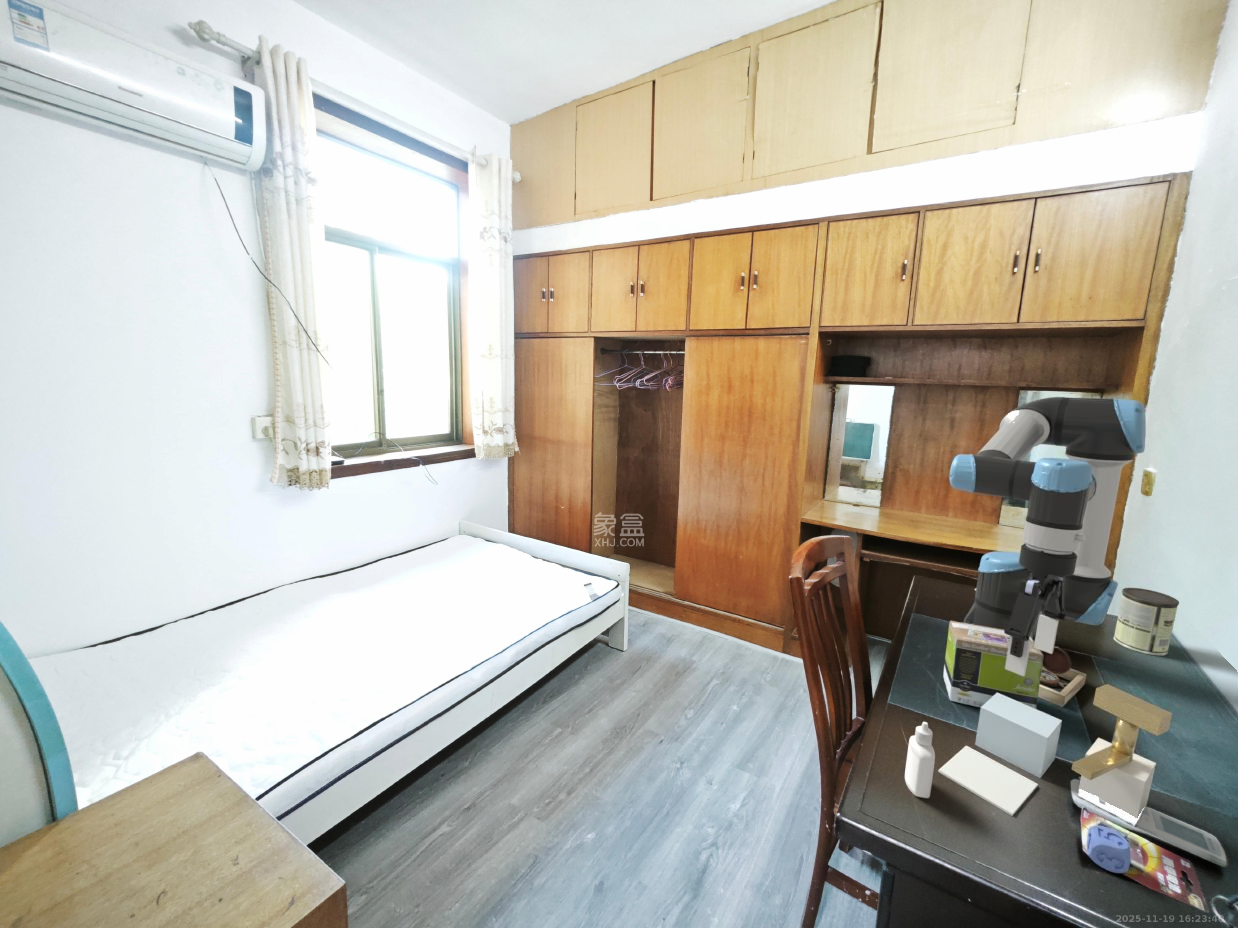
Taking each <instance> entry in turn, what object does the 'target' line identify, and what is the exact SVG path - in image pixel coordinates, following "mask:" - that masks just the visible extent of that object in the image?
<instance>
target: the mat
mask: <svg viewBox="0 0 1238 928" xmlns="http://www.w3.org/2000/svg"><path fill="white" fill-rule="evenodd" d="M937 772H938V773H940V775H943V776H944V777H946V778H947V779H949V780H951V781H953V782H954V783H956V784H957V785H959V786H961V787H963V788H965V789H966V790H967V791H969V792H971V793H973V794H974V795H976V796H978V797H979V798H981V799H982V800H984V801H986V802H988V803H989V804H991V805H993V806H994V807H996V808H998V809H999V810H1001V811H1002V812H1005V813H1006V814H1008V815H1010V816H1011V817H1013V816H1014V815H1015V814H1016V812H1017V811H1018V810H1019V809H1020V808H1021V806H1022V805H1024V803H1025V802H1026V800H1027V799H1028V798H1029V797H1030V796H1031V795H1032V794H1033V792H1034V791H1035V790H1036V788H1037V787H1038V786H1039V784H1038V783H1036V782H1035V781H1033V780H1032V779H1029V778H1027V777H1025V776H1023V775H1022V774H1020V773H1018V772H1017V771H1015V770H1013V769H1010V768H1009V767H1007V766H1005V765H1003V764H1002V763H999V762H997V761H996V760H994V759H992V758H990V757H988V756H987V755H985V754H982V753H981V752H979V751H977V750H975V749H973V748H972V747H970V746H968V745H964V747H963V748H962V749H960V751H958V752H957V753H956V754H954V756H952V758H951V759H949V760H948V761H947V762H946V763H945V764H943V766H941V767H940V768H939V769H938V770H937Z"/></svg>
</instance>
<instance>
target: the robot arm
mask: <svg viewBox="0 0 1238 928" xmlns="http://www.w3.org/2000/svg"><path fill="white" fill-rule="evenodd" d="M1146 420H1147V419H1146V408H1145V405H1144V404H1143V403H1142V402H1141V401H1138V400H1135V399H1134V400H1133V399H1123V398H1108V397H1107V398H1106V397H1103V398H1101V397H1065V396H1052V397H1046V398H1045V397H1044V398H1040V399H1036V400H1032V401H1029V402H1027V403H1024V404H1022V405H1020V406H1018V407H1016V408H1014V409H1012V410H1010V411H1009V412H1007V414H1006V415H1005V416H1004V417H1003V418H1002V420H1001V421H1000V424H999V427H998V430H997V432H996V433H995V434H994V435H993V436H992V437H991V438H990V439H989V440H988V442H987V443H986V444H985V445H984V446H983V447H982V448H981V449H980V450H979V451H978V453H976V454H972V453H969V454H964V453H963V454H962V453H960V454H957V455H955V457H954V458H953V460H952V463H951V466H950V468H949V469H950V470H949V484H950V486H951V487H952V488H953V489H954V490H959V491H963V492H969V493H970V494H981V495H988V496H994V497H995V496H996V497H1001V498H1002V497H1003V498H1008V499H1009V498H1010V499H1014V500H1021V501H1028V506H1027V512H1026V513H1027V514H1026V517H1025V520H1024V525H1023V532H1022V538H1021V541H1022V542H1023V544H1022V545H1021V546H1020V551H1019V552H1017V551H1009V550H1008V551H1006V550H1002V551H997V550H996V551H990V552H987V553H985V554H983V555H982V556H981V559H980V561H979V562H980V563H979V567H978V569H977V570H978V574H977V581H976V588H975V589H976V590H975V594H974V595H975V596H974V602H973V604H972V606H971V607H970V609H969V611H968V613H967V614H966V615H965V617H964V619H963V623H967V624H973V625H979V626H985V627H991V628H996V629H1002V630H1004V633H1005V634H1007V635H1010V640H1009V646H1008V652H1007V659H1006V665H1005V669H1006V670H1009V671H1011V672H1014V673H1016V674H1019V675H1021V676H1025V673H1026V667H1027V661H1028V655H1029V650H1030V644H1031V640H1030V639H1029V638H1030V637H1031V638H1032V640H1033V641H1034V648H1037V649H1039V650H1042V651H1045V652H1048V653H1050V654H1052V653H1053V650H1054V646H1055V644H1056V638H1057V637H1056V636H1057V633H1058V627H1059V621H1060V620H1061V621H1065V620H1066V619H1067V620H1070V621H1073V622H1075V623H1082V624H1087V625H1091V626H1100V624H1103V622H1104V620H1105V618H1106V616H1107V614H1108V611H1109V609H1110V606H1111V603H1112V601H1113V598H1114V596H1115V593H1116V591H1117V589H1118V586H1119V583H1118V581H1116V580H1114V579H1111V577H1112V572H1111V570H1110V569H1109V568H1108V567H1107V566H1106V565H1105V561H1106V555H1107V550H1108V545H1109V539H1110V536H1111V535H1110V534H1111V529H1112V524H1113V523H1112V522H1113V519H1114V518H1113V517H1114V513H1115V508H1116V503H1117V497H1118V493H1119V486H1120V482H1121V481H1120V480H1121V475H1122V469H1123V468H1124V466H1126V465H1128V464H1130V463H1131V462H1133V461H1134V458H1135V454H1142V453H1144V452H1145V448H1146V432H1147V430H1146V428H1147V427H1146V426H1147V423H1146V422H1147V421H1146ZM1039 445H1045V446H1057V447H1058V446H1059V447H1066V448H1065V453H1064V455H1065V456H1066V457H1067V458H1059V457H1058V458H1057V457H1043V458H1039V459H1038V460H1037V461H1030V460H1029V461H1027V460H1025V459H1026V458H1027V456H1028V455H1029V454H1030V453H1031V451H1032V450H1033V449H1034V448H1035V447H1037V446H1039ZM1040 613H1041V614H1040ZM1037 619H1038V620H1037ZM1036 622H1037V626H1036V632H1035V638H1034V636H1033V632H1032V631H1033V629H1034V626H1035V625H1036Z"/></svg>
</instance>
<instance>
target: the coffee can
mask: <svg viewBox="0 0 1238 928" xmlns="http://www.w3.org/2000/svg"><path fill="white" fill-rule="evenodd" d="M1179 604H1180V602H1179V600H1178V598H1175V597H1173V596H1171V595H1169V594H1165V593H1162V592H1159V591H1156V590H1155V591H1154V590H1151V589H1146V588H1138V587H1123V588H1122V591H1121V599H1120V604H1119V610H1118V613H1117V614H1118V615H1117V620H1116V625H1115V630H1114V634H1113V640H1114V641H1115V642H1116V644H1118V645H1120V646H1122V647H1124V648H1127V649H1129V650H1131V651H1135V652H1138V653H1141V654H1145V655H1151V656H1162V657H1163V656H1166V655H1168V654H1169V649H1170V643H1171V638H1172V635H1173V634H1172V633H1173V629H1174V624H1175V620H1176V614H1177V611H1178V610H1177V609H1178V606H1179Z"/></svg>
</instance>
